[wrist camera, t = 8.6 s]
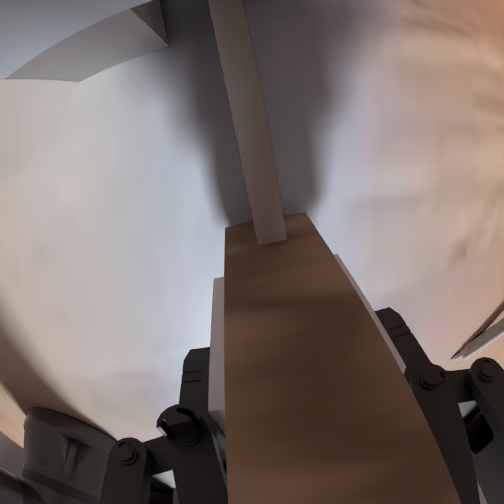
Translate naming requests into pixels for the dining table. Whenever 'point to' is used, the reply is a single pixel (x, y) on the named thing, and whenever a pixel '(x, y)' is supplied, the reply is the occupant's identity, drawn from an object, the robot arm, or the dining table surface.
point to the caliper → (480, 342)
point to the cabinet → (75, 36)
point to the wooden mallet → (305, 345)
